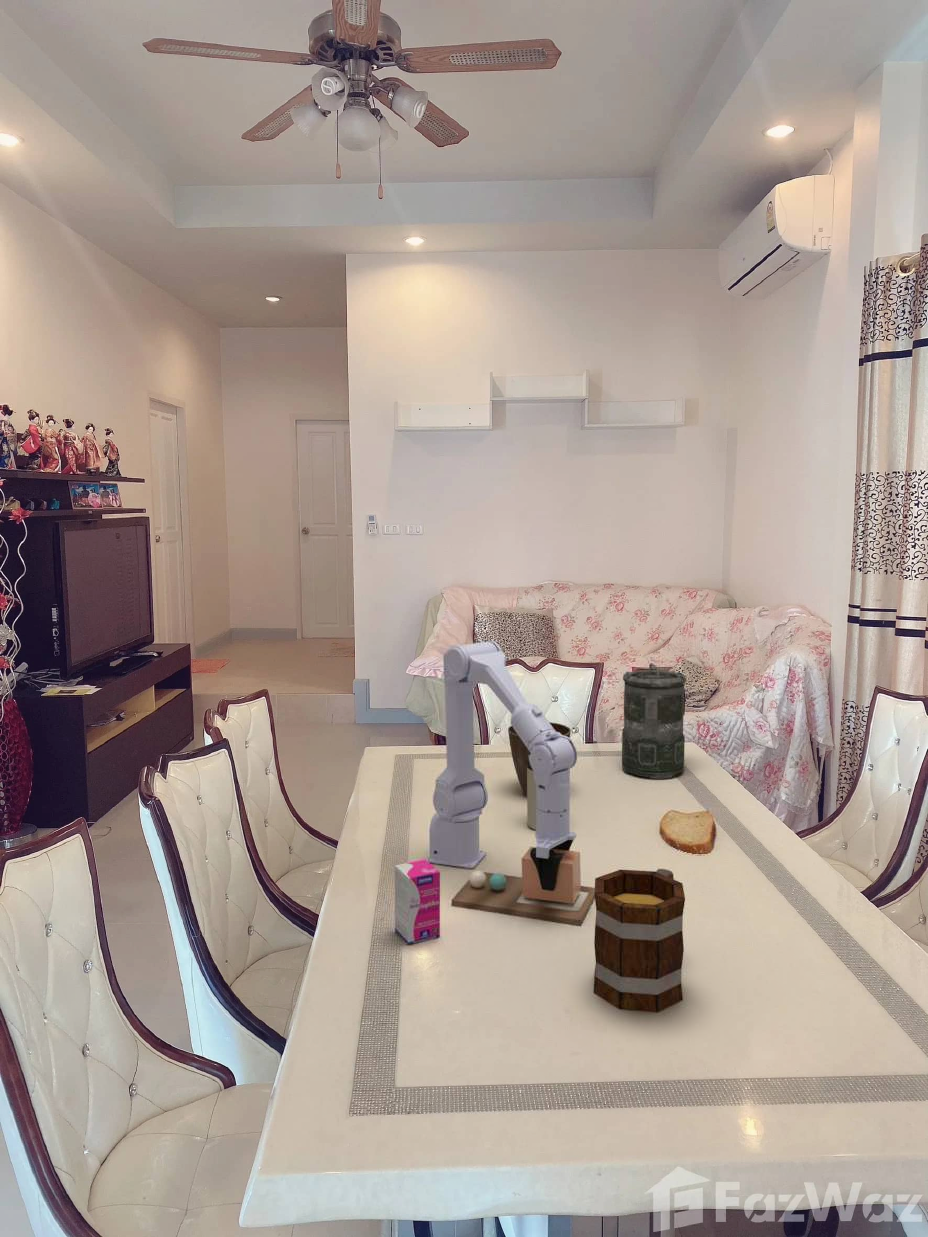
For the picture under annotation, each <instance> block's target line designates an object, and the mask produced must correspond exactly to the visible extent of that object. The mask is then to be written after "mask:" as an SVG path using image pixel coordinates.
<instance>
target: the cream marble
mask: <svg viewBox="0 0 928 1237" xmlns="http://www.w3.org/2000/svg"><path fill="white" fill-rule="evenodd" d="M483 872H484V871H482V870H474V871H473V872H471V873H470V875H469V879H470V883H471V885H472V886H474V887H476V888H480V887H482V886H483V885H484V884H485V883H486V876H485V874H484V873H483Z"/></svg>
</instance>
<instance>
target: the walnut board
mask: <svg viewBox="0 0 928 1237" xmlns="http://www.w3.org/2000/svg"><path fill="white" fill-rule="evenodd" d="M482 872H483V873H484V874H485V876H486V883H485V884H484V885H483V886H482V887H480V888H476V887H474V886H472V885H471V883H470V878H469V879H468V880H467V882H465V883H464V885H463V886H461V888H460V889H459V891H458V892H457V893H456V894H455V895H454V897H453V898H452V899H451V906H452V907H453V906H454V907H459V908H464V907H465V909H466V908H467V909H471V908H472V909H471V910H477V909H480V910H479V911H483V910H486V911H485V912H490V913H496V912H498V914H502V913H504V914H503V915H509V916H510V915H511V916H515V917H522V918H523V917H524V918H530V919H534V920H541V921H547V922H555V923H561V924H566V925H574V926H579V927H580V926H582V924H583V923H584V921H585V919H586V916H587V914H588V913H589V912H590V909H591V906H592V905H593V903H594V901H595V894H594V893H595V887H592V886H584V885H581V891H580V892H579V894H578V896H577V898H576V900H575V902H574V903H566V902H558V901H549V900H541V899H533V898H525V897H523V889H522V876H514V875H507V874H502V875H503V876H504V877H505V878H506V886H505V887H504V889H502V890H500V891H496V890H494V889H492V888H491V886H490V878H491V876H492V875H494V874H495V873H493V872H487V871H482Z"/></svg>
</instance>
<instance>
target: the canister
mask: <svg viewBox="0 0 928 1237" xmlns="http://www.w3.org/2000/svg"><path fill="white" fill-rule="evenodd" d="M622 677H623V678H622V681H623V682H624V685H623V686H624V688H623V689H624V690H623V728H622V730H621V734H622V735H621V738H622V739H621V768H622V769H623V771H624V772H625V773H626V774H629V773H630V774H632V775H634V776H638V777H643V778H649V779H650V780H663V779H665V780H666V779H671V778H672V777H674V776H676V775H682V773H683V772H684V770H685V767H684V765H685V743H686V742H685V734H684V716H685V714H686V690H685V684H686V682H687V681H686V680H687V679H686V676H685V674H683V673H682V672H679V671H678V672H675V671H670V670H661V669H660V668H659V667H658V666H657V665H655V664H654V663H652V662H651V663H649V667H648V668H637V669H636V670H633V671H629V670H628V671H627V672H625V673H624V674H623V676H622Z"/></svg>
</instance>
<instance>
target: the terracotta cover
mask: <svg viewBox="0 0 928 1237" xmlns="http://www.w3.org/2000/svg"><path fill="white" fill-rule="evenodd" d="M532 848H536V846H530V847H529V848H528V850H527V851H526V852H525V854H524V855H523V856H522V858H521V877H522V889H523V897H525V898H533V899H541V900H549V901H558V902H566V903H574V902H575V900H576V898H577V896H578V894H579V892H580V891H581V886H582V885H581V883H582V880H581V878H582V876H581V852H580V851H574V850H569V851H567V850H557V849H553V850H554V851H555V852H556V853H563V854H564V856H563V858H562V859H561V862H560V865H559V868H558V873H557V881H556V886H555V889H554V891H549V890H542V887H541V884H540V879H539V875H538V871H537V868H536V866H535V864H534V862H533V860H532V858H531V857H530V851H531V849H532Z"/></svg>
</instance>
